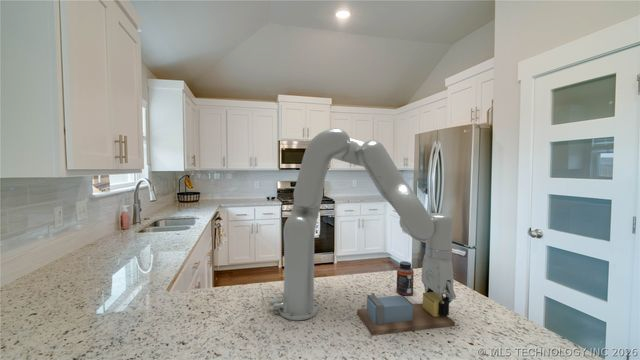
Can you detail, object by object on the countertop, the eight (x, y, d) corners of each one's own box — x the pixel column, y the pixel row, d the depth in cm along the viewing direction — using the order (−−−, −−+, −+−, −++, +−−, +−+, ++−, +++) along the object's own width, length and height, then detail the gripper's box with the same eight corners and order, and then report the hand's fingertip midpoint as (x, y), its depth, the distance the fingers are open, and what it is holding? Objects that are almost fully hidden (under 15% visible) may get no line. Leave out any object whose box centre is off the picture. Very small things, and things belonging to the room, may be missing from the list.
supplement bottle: (414, 297, 98) (415, 266, 98) (397, 295, 99) (397, 264, 99) (411, 290, 104) (412, 260, 103) (395, 288, 105) (396, 259, 105)
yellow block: (433, 316, 81) (434, 301, 81) (422, 307, 87) (422, 292, 87) (448, 315, 83) (448, 299, 82) (436, 306, 88) (436, 291, 88)
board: (372, 335, 74) (372, 331, 74) (356, 313, 86) (357, 309, 86) (454, 325, 80) (454, 321, 79) (429, 306, 91) (429, 302, 91)
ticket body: (375, 325, 76) (376, 306, 76) (365, 312, 84) (365, 294, 84) (413, 321, 79) (414, 302, 79) (400, 308, 86) (401, 291, 86)
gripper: (412, 246, 92) (411, 298, 93) (446, 262, 75) (444, 326, 76) (431, 245, 94) (430, 296, 94) (469, 261, 77) (467, 323, 77)
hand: (436, 309), depth 85 cm, fingers closed on yellow block, 5 cm apart
